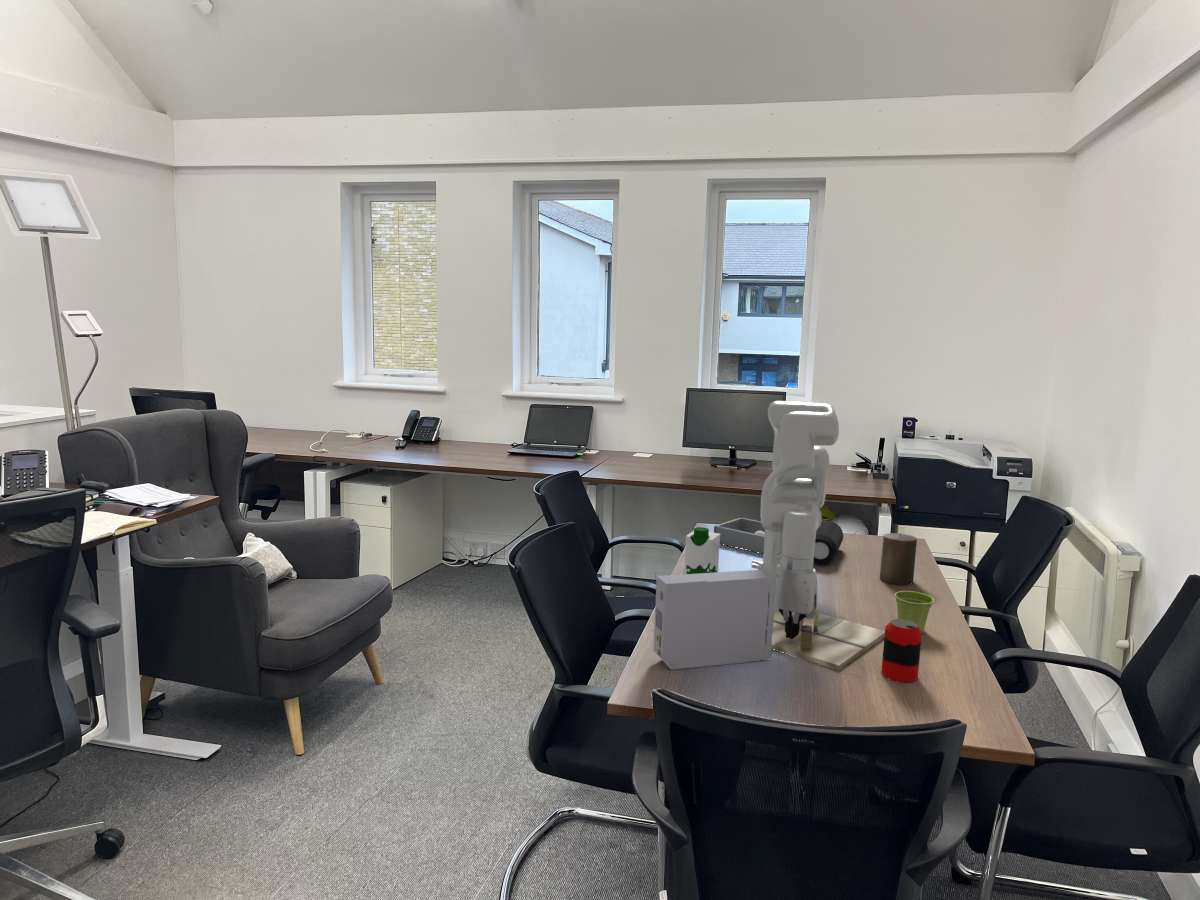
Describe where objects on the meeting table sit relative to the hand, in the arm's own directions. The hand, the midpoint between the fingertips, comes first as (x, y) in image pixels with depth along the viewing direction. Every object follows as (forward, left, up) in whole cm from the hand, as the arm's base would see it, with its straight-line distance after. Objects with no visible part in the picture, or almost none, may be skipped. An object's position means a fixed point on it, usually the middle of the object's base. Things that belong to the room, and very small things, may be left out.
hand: (791, 636), depth 193 cm
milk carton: (-35, +14, -3) cm, 38 cm away
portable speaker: (-28, +78, -3) cm, 83 cm away
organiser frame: (-51, +74, -3) cm, 90 cm away
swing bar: (+2, +4, -1) cm, 5 cm away
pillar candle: (-1, +70, -3) cm, 70 cm away
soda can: (+25, +2, -3) cm, 25 cm away
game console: (-9, -20, -3) cm, 22 cm away
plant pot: (+17, +32, -3) cm, 37 cm away
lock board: (0, +9, -3) cm, 10 cm away
